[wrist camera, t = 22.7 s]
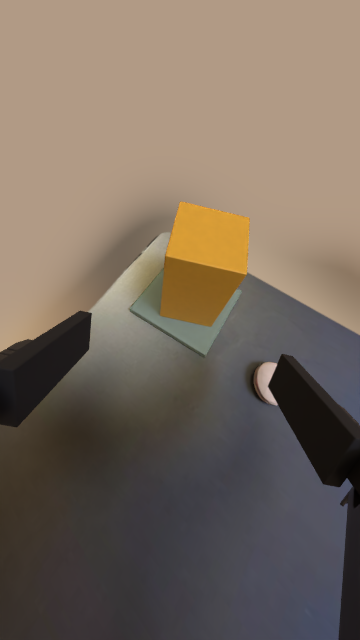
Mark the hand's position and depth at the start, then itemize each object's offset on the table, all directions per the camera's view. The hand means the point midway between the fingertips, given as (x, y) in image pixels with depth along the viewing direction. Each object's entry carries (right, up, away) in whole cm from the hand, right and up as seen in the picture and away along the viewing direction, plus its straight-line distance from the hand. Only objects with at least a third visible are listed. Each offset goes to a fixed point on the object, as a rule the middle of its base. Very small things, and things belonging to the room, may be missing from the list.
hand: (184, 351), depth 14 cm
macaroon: (+10, -5, +9) cm, 14 cm away
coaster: (+1, +4, +12) cm, 12 cm away
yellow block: (+1, +5, +11) cm, 12 cm away
